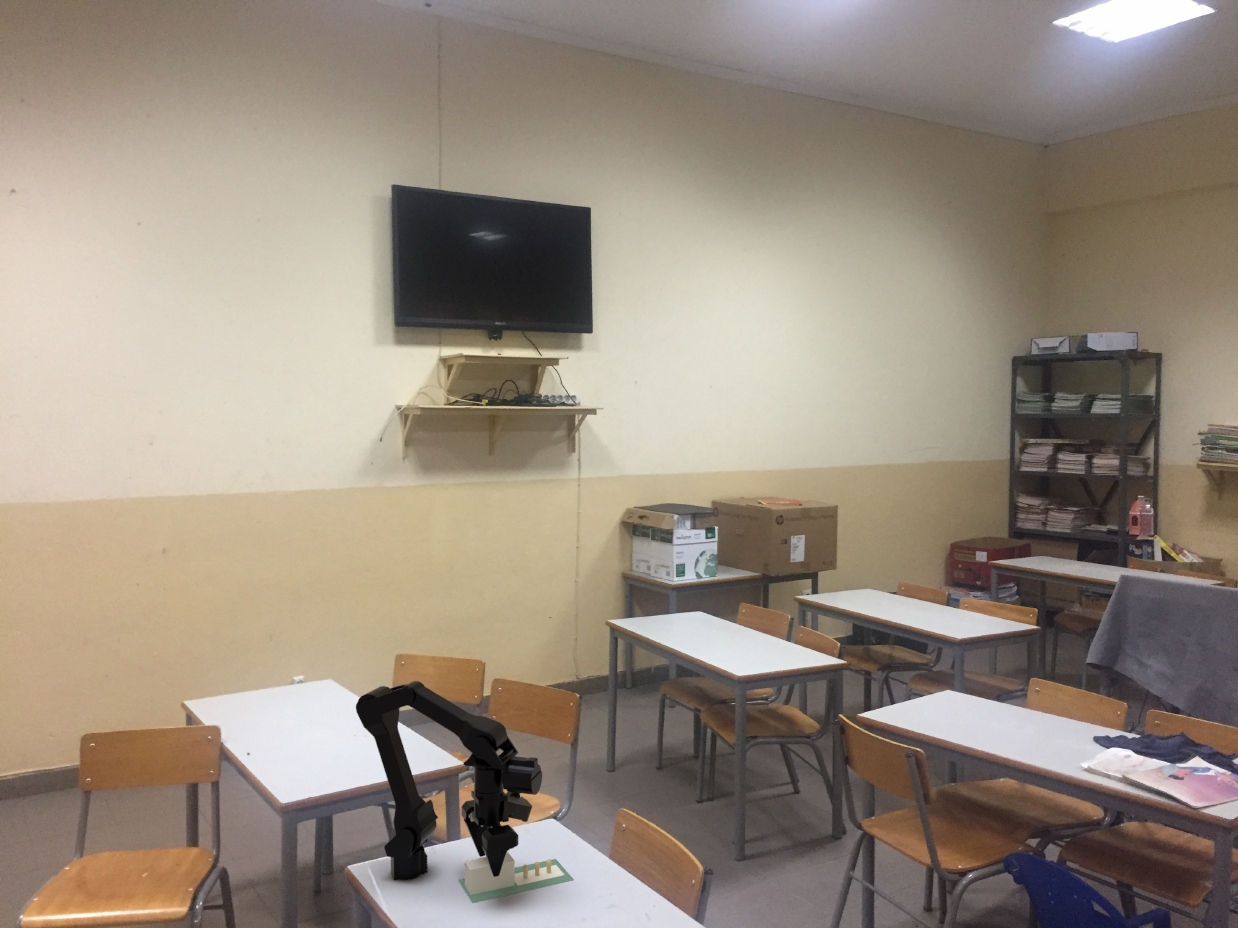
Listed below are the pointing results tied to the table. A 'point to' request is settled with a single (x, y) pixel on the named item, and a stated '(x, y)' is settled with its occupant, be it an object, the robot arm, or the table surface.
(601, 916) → the table surface
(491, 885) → the block
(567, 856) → the table surface
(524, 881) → the board
